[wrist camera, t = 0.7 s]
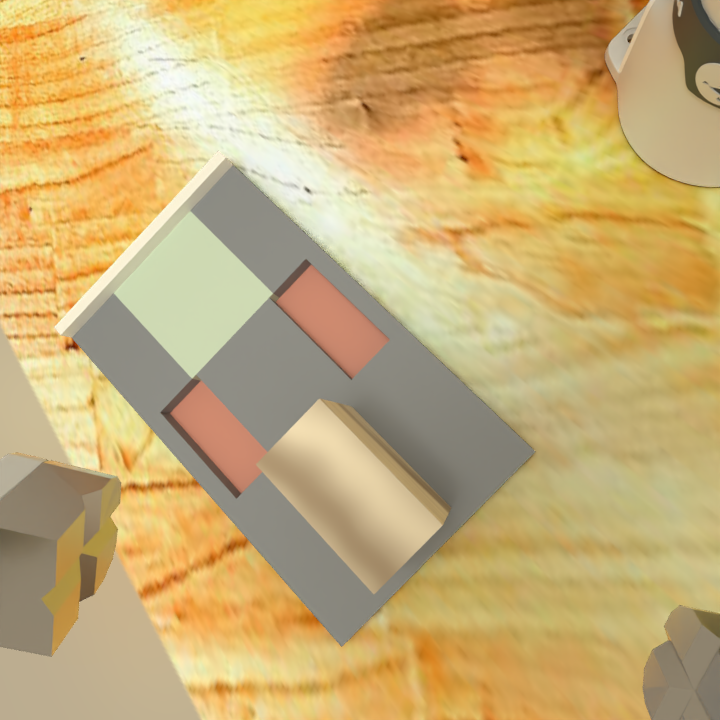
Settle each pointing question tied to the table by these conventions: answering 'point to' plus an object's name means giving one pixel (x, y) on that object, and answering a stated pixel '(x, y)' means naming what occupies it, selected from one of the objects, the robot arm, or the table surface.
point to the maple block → (354, 491)
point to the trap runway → (279, 376)
